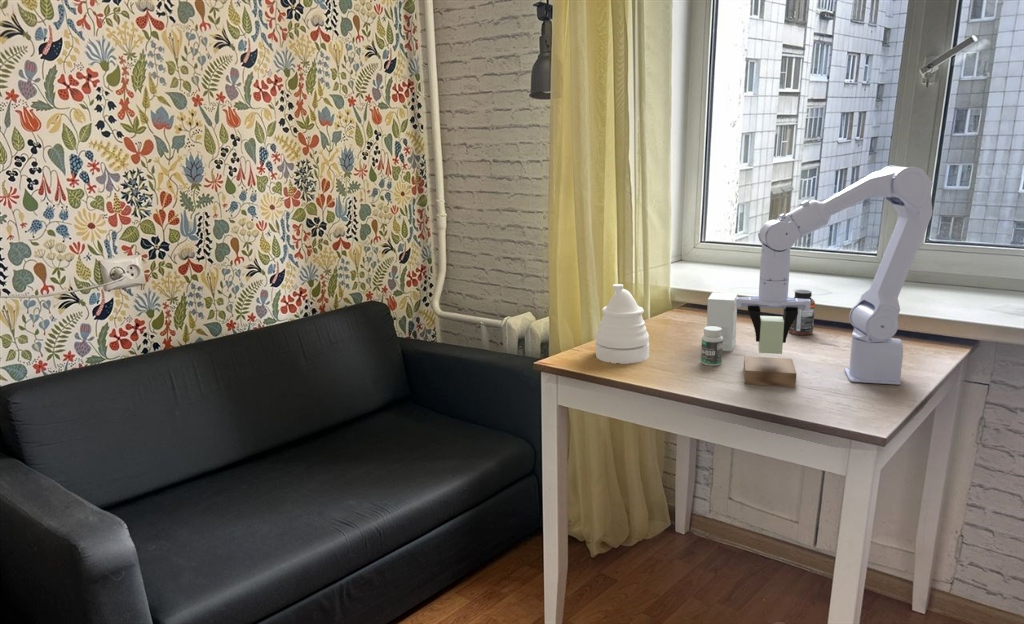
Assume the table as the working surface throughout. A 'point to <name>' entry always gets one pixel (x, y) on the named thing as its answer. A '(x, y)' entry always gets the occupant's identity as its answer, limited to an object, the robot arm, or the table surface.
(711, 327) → the pill bottle
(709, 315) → the small box
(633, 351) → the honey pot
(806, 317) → the supplement bottle
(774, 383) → the walnut base
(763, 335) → the sage block
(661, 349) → the table surface
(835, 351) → the table surface
